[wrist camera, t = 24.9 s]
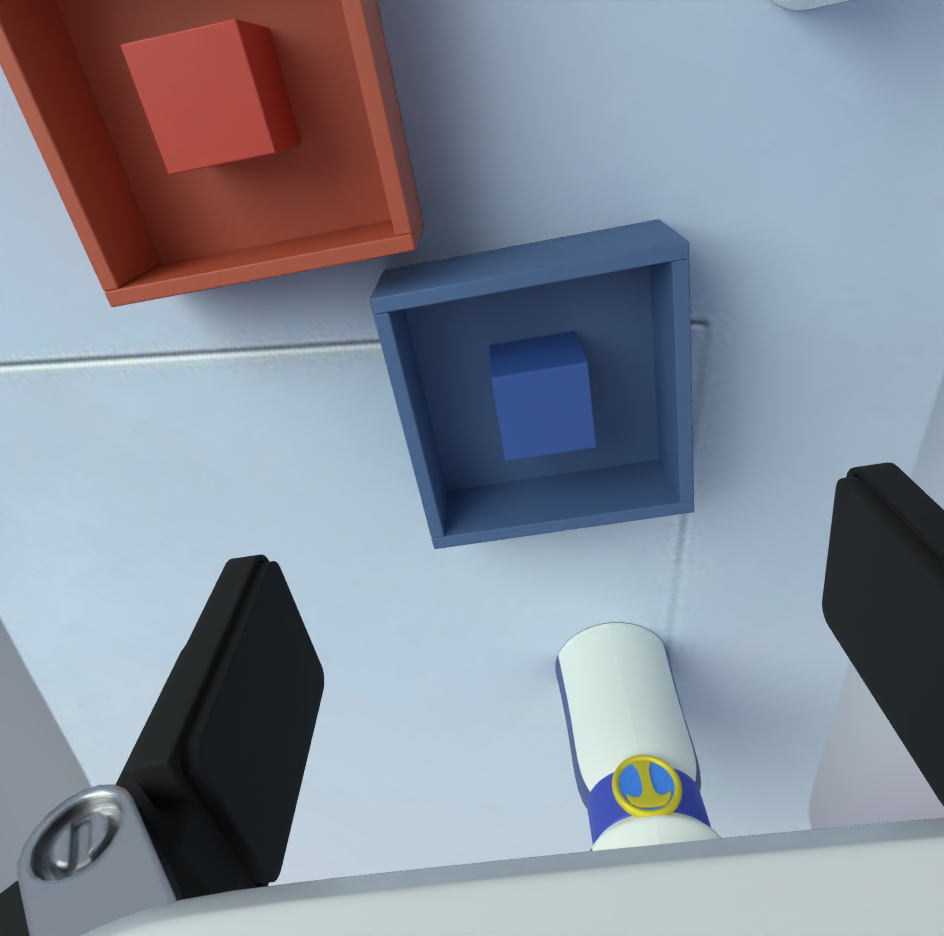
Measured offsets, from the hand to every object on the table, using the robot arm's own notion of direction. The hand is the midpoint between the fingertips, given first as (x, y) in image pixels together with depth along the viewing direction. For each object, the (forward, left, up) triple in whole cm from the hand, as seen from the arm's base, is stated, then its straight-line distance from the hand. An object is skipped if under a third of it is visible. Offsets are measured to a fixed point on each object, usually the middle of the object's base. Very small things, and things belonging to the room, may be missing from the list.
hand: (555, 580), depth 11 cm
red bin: (-9, -10, -24) cm, 28 cm away
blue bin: (+6, +1, -24) cm, 25 cm away
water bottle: (+28, +3, -25) cm, 38 cm away
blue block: (+6, +1, -24) cm, 25 cm away
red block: (-9, -10, -24) cm, 27 cm away
